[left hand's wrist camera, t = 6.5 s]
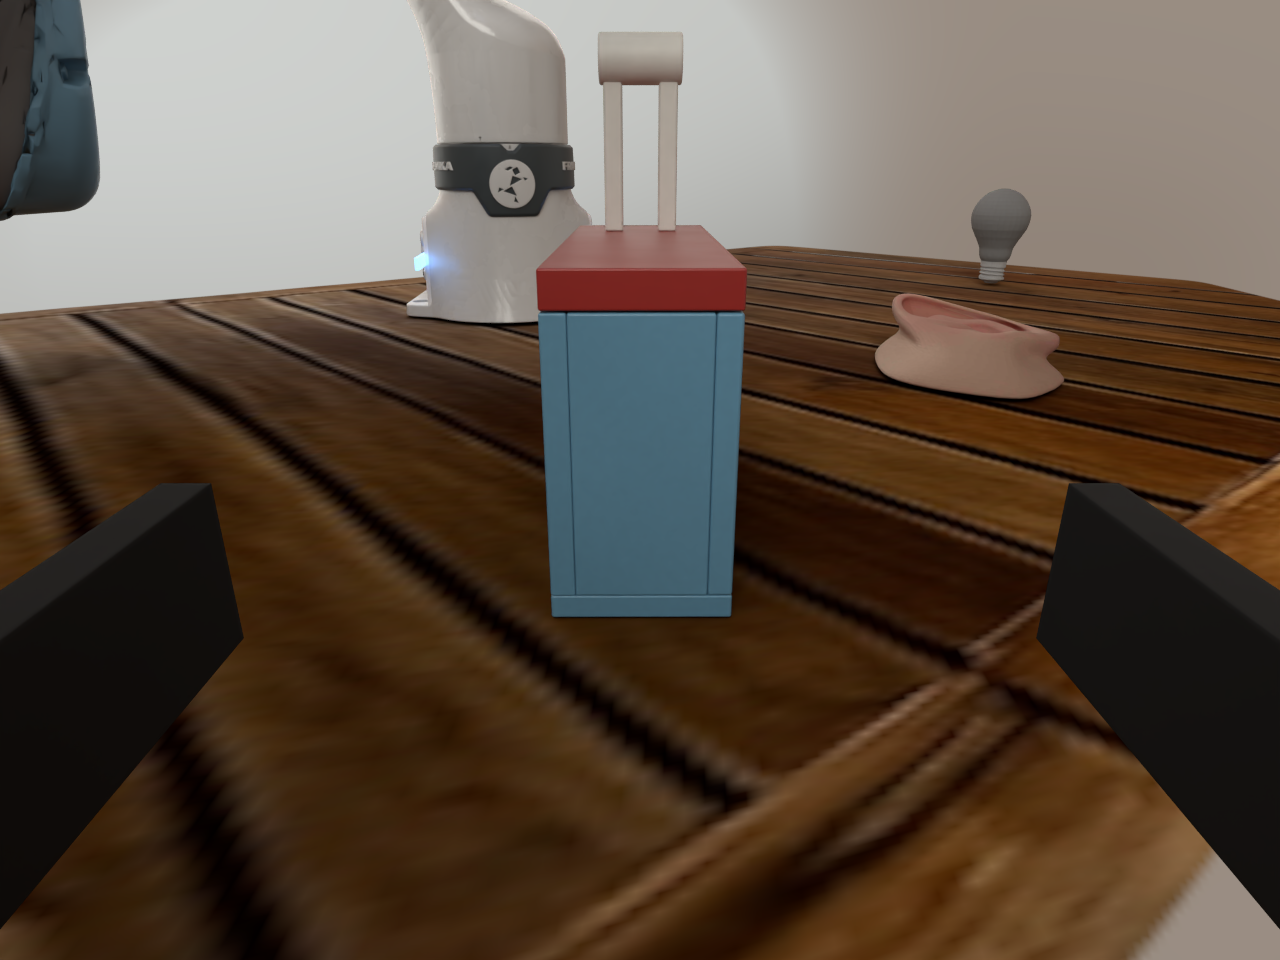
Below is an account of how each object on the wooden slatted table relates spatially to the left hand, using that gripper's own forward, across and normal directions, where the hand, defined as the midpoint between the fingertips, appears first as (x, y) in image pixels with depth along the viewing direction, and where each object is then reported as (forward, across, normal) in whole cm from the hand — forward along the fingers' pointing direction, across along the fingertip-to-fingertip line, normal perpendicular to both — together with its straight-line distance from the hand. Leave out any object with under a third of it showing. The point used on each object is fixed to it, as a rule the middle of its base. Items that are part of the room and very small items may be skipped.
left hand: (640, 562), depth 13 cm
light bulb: (+81, +40, -7) cm, 91 cm away
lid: (+18, 0, +2) cm, 18 cm away
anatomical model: (+40, +21, -7) cm, 45 cm away
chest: (+17, 0, -7) cm, 18 cm away
